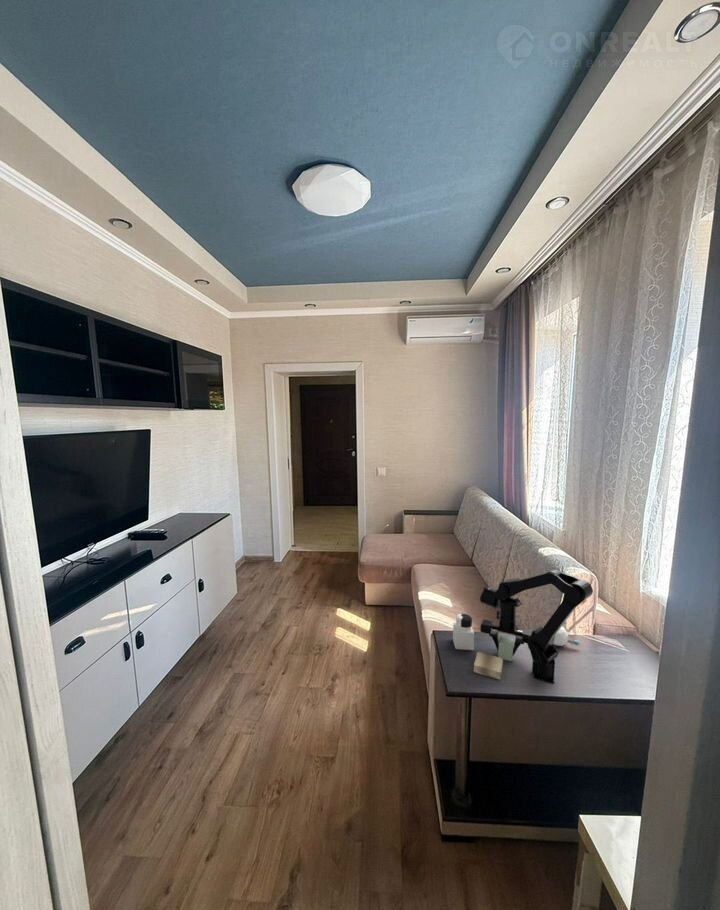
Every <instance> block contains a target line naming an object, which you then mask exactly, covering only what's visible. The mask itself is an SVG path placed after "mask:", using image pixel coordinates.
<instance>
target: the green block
mask: <svg viewBox="0 0 720 910" xmlns="http://www.w3.org/2000/svg"><path fill="white" fill-rule="evenodd" d="M514 643H515V638H514V639H513V638H509V637H506V636H501V635H500V636H499V649H498V651H497V653H498V654H497V657H499V658H503V660H505V661H508V662H513V657H514V656H513V648H514Z"/></svg>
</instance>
